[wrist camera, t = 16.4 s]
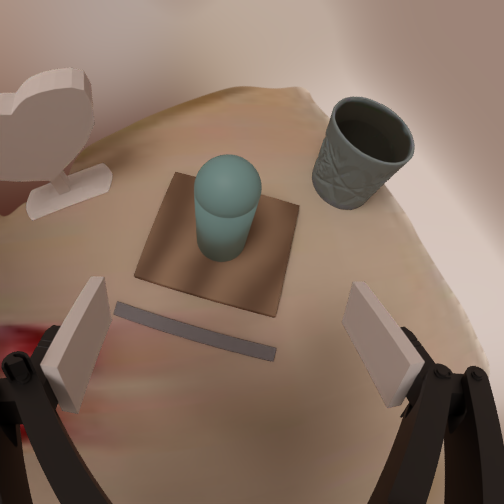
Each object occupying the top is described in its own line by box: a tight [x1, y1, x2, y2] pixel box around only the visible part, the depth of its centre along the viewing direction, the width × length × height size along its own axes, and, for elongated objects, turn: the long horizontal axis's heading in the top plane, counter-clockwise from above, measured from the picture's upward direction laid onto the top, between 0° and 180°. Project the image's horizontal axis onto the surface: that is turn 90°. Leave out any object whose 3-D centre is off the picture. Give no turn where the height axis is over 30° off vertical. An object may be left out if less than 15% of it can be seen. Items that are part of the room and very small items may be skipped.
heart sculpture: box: [0, 68, 113, 221], centre depth 28 cm, size 16×5×18 cm, turn 112°
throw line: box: [114, 301, 276, 361], centre depth 32 cm, size 18×2×1 cm, turn 76°
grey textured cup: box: [312, 97, 414, 210], centre depth 36 cm, size 10×10×12 cm
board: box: [134, 172, 299, 317], centre depth 36 cm, size 16×14×1 cm
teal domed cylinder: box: [194, 155, 261, 262], centre depth 29 cm, size 6×6×14 cm
